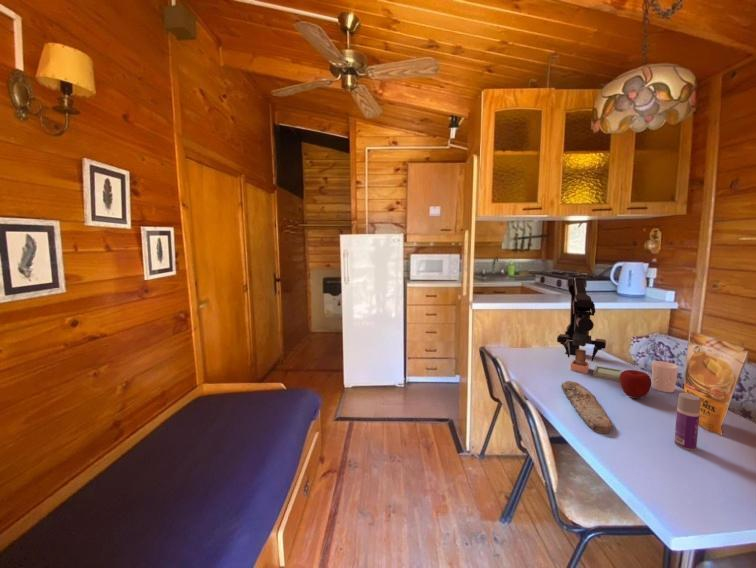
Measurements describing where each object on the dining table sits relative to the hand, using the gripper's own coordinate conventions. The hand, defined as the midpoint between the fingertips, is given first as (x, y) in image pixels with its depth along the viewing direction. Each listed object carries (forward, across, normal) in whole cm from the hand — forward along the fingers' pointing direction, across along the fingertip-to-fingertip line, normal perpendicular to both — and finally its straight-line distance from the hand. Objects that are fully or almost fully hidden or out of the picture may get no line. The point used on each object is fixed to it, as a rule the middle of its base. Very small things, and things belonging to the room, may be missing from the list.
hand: (580, 359), depth 153 cm
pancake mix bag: (+6, +38, -28) cm, 48 cm away
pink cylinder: (+6, +29, -4) cm, 30 cm away
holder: (+5, 0, 0) cm, 5 cm away
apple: (+6, +20, -18) cm, 28 cm away
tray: (+5, +10, 0) cm, 12 cm away
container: (+5, +32, -48) cm, 58 cm away
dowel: (+5, 0, 0) cm, 5 cm away
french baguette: (+6, +6, -38) cm, 39 cm away
